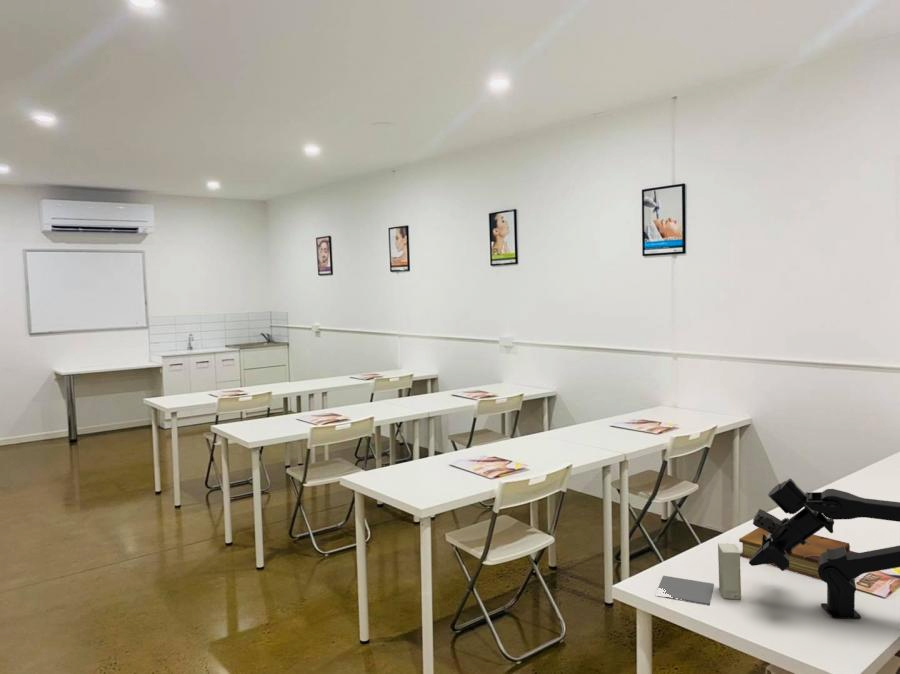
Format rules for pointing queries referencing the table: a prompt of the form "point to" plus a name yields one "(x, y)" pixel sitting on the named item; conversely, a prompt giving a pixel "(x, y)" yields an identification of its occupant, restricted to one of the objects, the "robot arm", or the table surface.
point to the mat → (687, 589)
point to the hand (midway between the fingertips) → (750, 563)
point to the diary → (795, 551)
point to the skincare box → (729, 571)
